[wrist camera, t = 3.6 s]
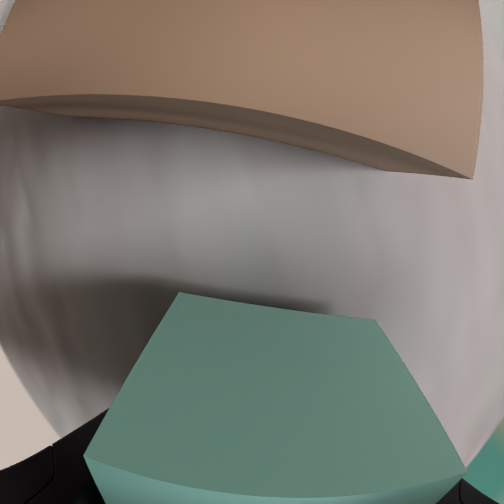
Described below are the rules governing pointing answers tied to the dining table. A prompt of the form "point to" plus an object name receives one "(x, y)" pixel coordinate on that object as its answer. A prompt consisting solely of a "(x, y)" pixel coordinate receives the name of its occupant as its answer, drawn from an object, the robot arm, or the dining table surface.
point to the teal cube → (270, 414)
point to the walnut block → (264, 71)
